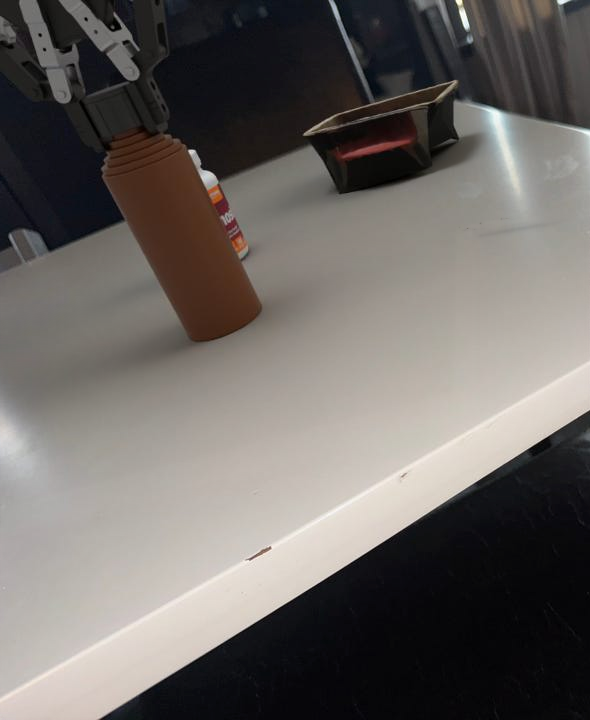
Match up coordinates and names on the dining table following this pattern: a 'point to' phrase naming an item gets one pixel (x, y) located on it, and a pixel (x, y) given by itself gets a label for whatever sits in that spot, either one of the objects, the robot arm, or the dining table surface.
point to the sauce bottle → (180, 232)
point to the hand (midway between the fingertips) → (133, 139)
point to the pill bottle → (222, 207)
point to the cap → (112, 110)
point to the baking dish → (385, 137)
